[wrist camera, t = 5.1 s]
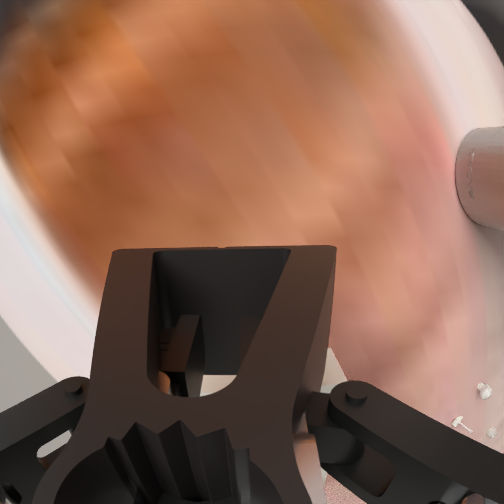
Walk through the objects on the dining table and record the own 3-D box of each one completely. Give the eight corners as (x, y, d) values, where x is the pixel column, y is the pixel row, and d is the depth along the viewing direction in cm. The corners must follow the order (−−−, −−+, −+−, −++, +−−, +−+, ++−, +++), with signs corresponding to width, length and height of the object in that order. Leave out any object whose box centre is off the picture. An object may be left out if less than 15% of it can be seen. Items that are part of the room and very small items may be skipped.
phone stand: (136, 366, 14) (46, 590, 2) (116, 247, 12) (-118, 457, 1) (322, 367, 14) (403, 606, 2) (334, 245, 12) (573, 499, 1)
